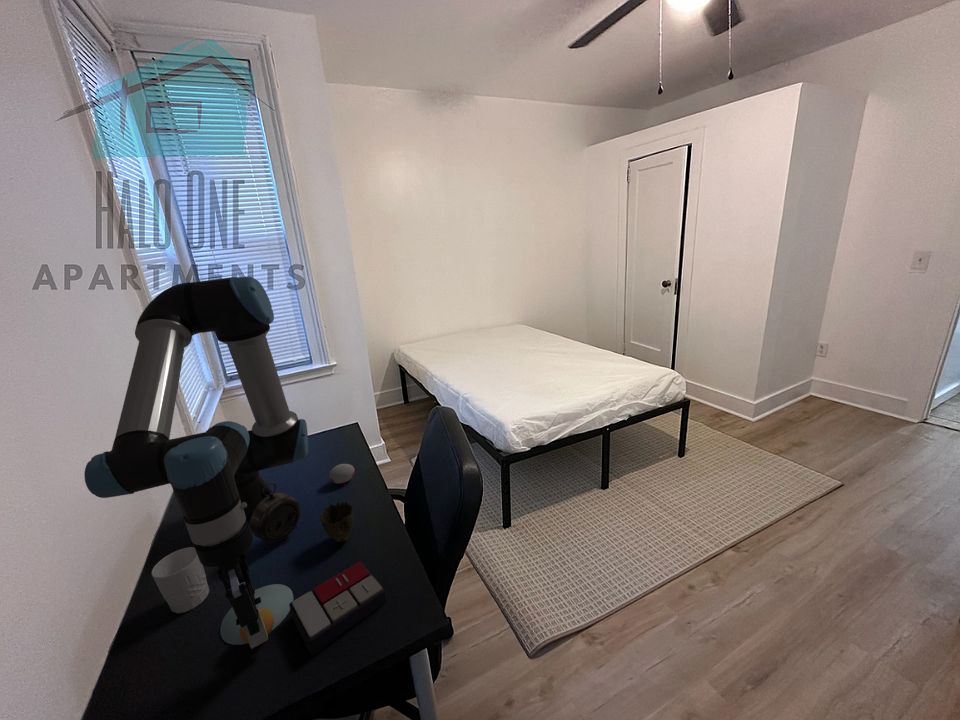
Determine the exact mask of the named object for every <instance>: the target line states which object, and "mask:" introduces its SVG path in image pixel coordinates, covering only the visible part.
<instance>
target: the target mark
mask: <svg viewBox="0 0 960 720" xmlns="http://www.w3.org/2000/svg"><path fill="white" fill-rule="evenodd" d="M253 590H254V591H255V595H254V597H255V599H256V598H258V597H260V598H261V603H259V604H257V605H256V607H257V606H258V608H265V609H268V610H269V611H270V612H271V613H272V615H273V617H274V625H273V628H272V630H271V632H272V631H273V630H275V629H276V628H277V627H278V626H280V624H282V622H283V621H284V620H285V618H286V617H287V616H288V615H289V613H290V612H291V611H290V606H289V604H290V603H291V602H292V601H294V594H293V591H292V590H291V588H290V587H288V586H287V585H285V584H280V583H278V584H277V583H275V584H269V585H265V586H262V587H259V588H257V589H253ZM236 619H238V618H237V616H236V614H235V612H234V609H233V607H232V606H231V608H230V609H228V612H227V613H226V614H225V615H224V617H223V619H222V621H221V624H220V628H219V629H220V630H219V632H220V637H221V639H222V640H223V641H224V642H225V643H227V644H230V645H233V646H239V645H246V644H247V643H246V642H244V641H243V640H242V638H241V636H240V624H239V625H236Z"/></svg>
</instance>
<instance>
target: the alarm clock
mask: <svg viewBox="0 0 960 720" xmlns="http://www.w3.org/2000/svg"><path fill="white" fill-rule="evenodd" d="M269 484H272V485H273V486H274V489H273V490H272V492H271V493H269V495H265V494H264V489H265V487H266V486H267V485H269ZM276 489H277V485H276V483H275V482H273V481H269V482H267V484H266V485H265V486H264V488H263V494H264V496H267V497H265V498H264V499H263V500H262V501H261V502H260V503H259V504H258V505H257V506H256V508H255V509H254V511H253V513H252V516H251V517H250V518H249V519H250V520H249V527H250V530H251V533H252V535H254V536H255V537H256V538H258V539H261V540H262V541H263V542H264V546H263V547H262V550H264V551H265V550H266V548H267V546H268V544H269V543H275V542H279V541H281V540H283V539H284V540H285V541H286V542H287V543H289V542H290V538H289V534H291V533H292V532H293V531H294V529H295V528H297V527H298V526H297V524H298V522H299V520H300V517H301V505H300V502H299V501H298V499H296V498H295V497H294V496H292V495H289V494H287V493H284V492H275V491H276Z"/></svg>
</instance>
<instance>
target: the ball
mask: <svg viewBox="0 0 960 720" xmlns="http://www.w3.org/2000/svg"><path fill="white" fill-rule="evenodd" d="M259 611H260V614H261V617H262V620H263V622H264V625H265V628H266V631H267V635H268V636H269V635H270V634H271V633H272V631H273V630H272V628H273V625H274V617H273V615H272V613H271V612H270V611H269V610H268V609H265V608H259ZM271 630H272V631H271ZM240 636H241V638H242V640H243V641H244V642H246V644H249V641H248V639H247V636H246V633H245V630H244V627H241V626H240ZM249 645H250V644H249Z"/></svg>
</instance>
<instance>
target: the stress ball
mask: <svg viewBox="0 0 960 720" xmlns="http://www.w3.org/2000/svg"><path fill="white" fill-rule="evenodd" d="M355 472H356V470H355V468H354V466H353V465H352V464H350V463H340V464H338V465H336V466H334V467H333V468H331V469H330V470H329V473H328V478H329V481H330V482H331V483H334V484H337V485H338V484H343V487H346V486H347V484H346V483H347V482H349V481H350V480H351V479H352V478H353V477H354V475H355Z"/></svg>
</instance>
